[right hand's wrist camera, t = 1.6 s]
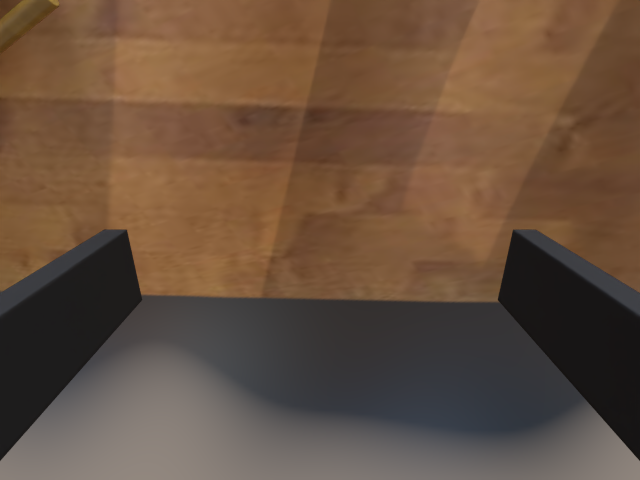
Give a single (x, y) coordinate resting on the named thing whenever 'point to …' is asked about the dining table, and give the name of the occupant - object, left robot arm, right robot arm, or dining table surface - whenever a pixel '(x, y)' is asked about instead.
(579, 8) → the dining table surface
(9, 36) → the drawer
